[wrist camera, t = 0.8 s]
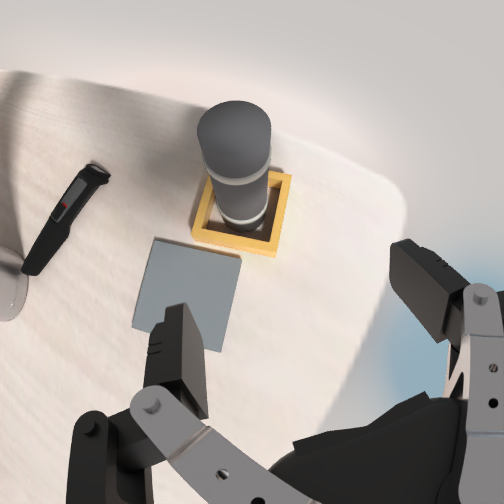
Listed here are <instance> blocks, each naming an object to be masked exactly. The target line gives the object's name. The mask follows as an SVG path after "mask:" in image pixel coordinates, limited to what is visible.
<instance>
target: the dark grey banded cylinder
mask: <svg viewBox="0 0 504 504" xmlns="http://www.w3.org/2000/svg"><path fill="white" fill-rule="evenodd" d="M197 135H198V139H199V142H200V146H201V149H202V157H203V161H204V164H205V167H206V169H207V171H208V173H209V176H210V179H211V182H212V186H213V189H214V192H215V196H216V201H217V206H218V209H219V211H220V213H221V215H222V218H223V221H224V222H225V224H226V225H227V226H228V227H229V228H230V229H232V230H234V231H237V232H250V231H252V230H255V229H256V228H258V227H259V226H260V225H261V224H262V222H263V221H264V219H265V216H266V208H267V204H268V193H267V188H268V173H269V164H270V160H271V144H270V140H271V122H270V119H269V117H268V115H267V114H266V113H265V112H264V111H263V110H262V109H261V108H260V107H258V106H257V105H254V104H252V103H249V102H245V101H227V102H223V103H220V104H218V105H216V106H214V107H212V108H211V109H209V110H208V111H207V112H206V113H205V114H204V115H203V116H202V118H201V119H200V121H199V124H198V128H197Z"/></svg>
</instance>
